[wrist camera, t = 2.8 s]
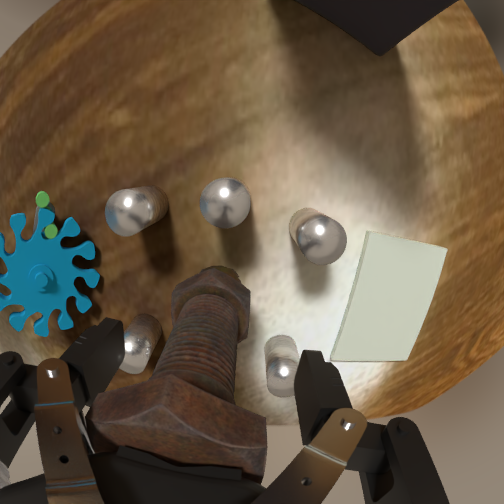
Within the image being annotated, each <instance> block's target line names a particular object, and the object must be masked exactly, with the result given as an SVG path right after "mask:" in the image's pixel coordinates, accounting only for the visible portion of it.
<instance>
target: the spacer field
mask: <svg viewBox="0 0 504 504" xmlns="http://www.w3.org/2000/svg"><path fill="white" fill-rule="evenodd" d="M200 209H201V212H202V214H203V216H204V218H205V219H206V220H207V221H208V222H209V223H210V224H212V225H214V226H216V227H219V228H231V227H235V226H237V225H238V224H240V223H241V222H242V221H243V220H244V219H245V218H246V217H247V215H248V213H249V210H250V192H249V189H248V187H247V185H246V184H245V183H244V182H243V181H241V180H240V179H237V178H233V177H228V178H220V179H217V180H214V181H212V182H211V183H209V184H208V185H207V186H206V187H205V189H204V190H203V192H202V194H201V198H200ZM167 210H168V198H167V196H166V194H165V192H164V191H163V190H162V189H160V188H159V187H156V186H145V187H138V188H131V189H125V190H120V191H117V192H115V193H114V194H113V195H112V196H111V197H110V198H109V200H108V202H107V204H106V208H105V216H106V220H107V223H108V225H109V227H110V228H111V229H112V230H113V231H114V232H115V233H117V234H118V235H121V236H131V235H134V234H136V233H137V232H139V231H141V230H143V229H145V228H146V227H148V226H150V225H152V224H154V223H155V222H157V221H159V220H161V219H162V218H163V217H164V216H165V214H166V213H167ZM289 231H290V234H291V236H292V238H293V239H294V241H295V242H296V244H297V245H298V247H299V248H300V250H301V251H302V253H303V254H304V256H305V257H306V258H307V259H308V260H309V261H311V262H312V263H314V264H318V265H327V264H331V263H333V262H335V261H336V260H337V259H339V258H340V257H341V255H342V254H343V252H344V250H345V248H346V243H347V237H346V233H345V230H344V228H343V227H342V226H341V225H340V224H339V223H338V222H337V221H335V220H333V219H332V218H330V217H328V216H326V215H324V214H323V213H321V212H319V211H317V210H315V209H312V208H303V209H300V210H299V211H297V212H296V213H295V214H294V215H293V216H292V218H291V220H290V223H289ZM161 333H162V328H161V325H160V323H159V322H158V321H157V320H156V319H155V318H154V317H153V316H151V315H148V314H139V315H137V316H136V317H135V318H134V319H133V321H132V322H131V323H130V325H129V326H128V328H127V329H126V330H125V332H124V341H125V357H124V360H123V362H122V364H121V365H120V367H119V368H120V369H122V370H123V371H125V372H128V373H131V374H138V373H140V372H142V371H143V370H144V368H145V366H146V364H147V362H148V360H149V358H150V356H151V354H152V352H153V350H154V348H155V346H156V344H157V342H158V340H159V338H160V336H161ZM264 351H265V363H266V375H267V387H268V390H269V391H270V393H272V394H273V395H275V396H278V397H290V396H293V395H295V393H294V378H295V374H296V371H297V368H298V365H299V361H300V358H299V354H298V350H297V346H296V343H295V341H294V340H293V339H292V338H291V337H289V336H286V335H277V336H274V337H272V338H270V339H269V340H268V341H267V342H266V344H265V347H264Z"/></svg>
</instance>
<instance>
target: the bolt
mask: <svg viewBox="0 0 504 504" xmlns="http://www.w3.org/2000/svg"><path fill="white" fill-rule="evenodd" d="M238 277H239V276H238V275H237V273H236V272H235V271H234V270H233V269H230V268H227V267H223V266H211V267H208V268H206V269H202V271H201V272H200V273H199V274H196V275H194V276H192V277H190V278H188V279H186V280H185V281H183V282H181V283H180V284H178V285H177V286H176V287H175V289H174V290H173V292H172V303H171V315H172V324H173V330H172V332H171V334H170V336H169V338H168V340H167V342H166V345H165V347H164V349H163V351H162V354H161V356H160V359H159V360H158V363H157V364H156V367H155V369H154V371H153V375H152V377H150V378H149V380H148V381H145V382H141V383H138V384H134V385H130V386H127V387H123V388H119V389H115V390H111V391H107V392H103V393H98V395H97V397H96V398H95V400H94V402H93V404H92V405H91V407H90V409H89V411H88V412H87V414H86V416H85V421H86V428H87V433H88V437H89V441H90V444H91V447H92V449H93V451H94V453H100V452H117V451H118V449H119V446H120V445H121V446H124V447H128V448H131V449H134V450H138V451H141V452H145V453H148V454H150V455H152V456H154V457H156V458H158V459H160V460H163V461H165V462H167V463H169V464H171V465H174V466H177V467H203V466H213V467H221V468H229V469H240V470H242V473H241V477H243V478H246V479H249V480H251V481H254V482H256V483H258V484H260V485H261V482H262V479H263V476H264V471H265V464H266V455H267V432H266V418H265V417H263V416H260V415H257V414H255V413H252V412H250V411H248V410H245V409H243V408H241V407H238V406H236V405H235V401H234V387H235V370H236V355H237V351H236V350H237V344H238V343H239V342H241V341H242V340H244V339H246V338H247V335H248V326H249V314H250V290H249V289H247V288H246V287H245V286H244V285H242V284H241V281H240V280H239V279H238Z"/></svg>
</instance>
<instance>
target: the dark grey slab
mask: <svg viewBox="0 0 504 504" xmlns="http://www.w3.org/2000/svg"><path fill="white" fill-rule="evenodd" d="M295 1H297V2H299V3H300V4H302V5H304V6H306V7H308V8H309V9H311V10H313V11H314V12H316V13H318V14H319V15H321V16H323V17H324V18H326V19H328V20H329V21H331V22H332V23H334V24H335V25H337V26H338V27H340V28H341V29H343V30H344V31H346V32H347V33H348V34H350V35H351V36H353V37H354V38H355V39H357V40H358V41H359V42H361V43H362V44H363V45H365V46H366V47H367V48H369V49H370V50H371V51H372V52H374V53H375V54H376V55H379V56H382V55H384V54H385V53H386V52H387V51H389V50H390V49H391V48H393V47H394V46H395V45H396V44H398V43H399V42H400V41H402V40H403V39H404V38H406V37H407V36H408V35H410V34H411V33H412V32H414V31H415V30H416V29H418V28H419V27H420V26H422V25H423V24H425V23H426V22H427V21H429V20H430V19H432V18H433V17H434V16H436V15H437V14H439V13H440V12H442V11H443V10H445V9H446V8H448V7H449V6H451V5H452V4H454V3H455V2H457V1H459V0H295Z"/></svg>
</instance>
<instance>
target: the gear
mask: <svg viewBox="0 0 504 504" xmlns="http://www.w3.org/2000/svg"><path fill="white" fill-rule="evenodd" d="M36 203H37V205H38V206H37V208H36V214H35V221H34V229H33V235H32V237H31V238H30V239H29V240H24V239H23V238H22V237H21V231H22V230H23V228H24V226H25V224H26V216H25V214H24V213H18V214H14V215H11V218H10V225H11V228H12V229H13V231H14V233H15V237H16V250H15V252H13V253H12V254H9V253H7V252H6V251H5V248H4V243H5V239H4V236H3V234H2V233H1V232H0V257H1V258H2V259H3V260H4V262H5V264H6V266H7V269H8V272H7V273H6V274H0V283H1V284H3V285H5V286H6V287H8V288H9V289H10V290H11V292H12V293H11V294H10V295H9V296H5V295H3V294H2V293H0V311H2V309H3V308H5V307H6V306H8V305H12V304H19V305H22V306H23V307H24V308H25V309H24V310H23V311H22V312H13V313H11V314H10V316H9V323H10V324H11V326H12V327H13V328H14V329H15V330H17V331H18V332H19V331H21V330H22V329H23V326H24V323H25V321H26V319H27V318H28V317H29V316H30V315H32V314H34V313H35V312H40V313H42V314H43V315H42V317H41V318H39V319H38V320H36V321H35V322H34V332H35V334H37V335H39V336H44V337H47V336H48V334H49V330H48V318H49V316H50V314H51V312H52V311H53V310H54V309H60V310H61V312H60V314H59V316H58V319H57V321H58V324H59V327H60V329H61V330H66V329H69V328H72V327H73V321H72V319H71V316H70V315H69V314H68V313H67V311H66V300H67V298H68V297H69V296H75V297H76V306H77V308H78V310H79V311H80V312H81V313H84V312H86V311H87V310H88V309H89V308H90V307H91V306H92V303H91V301H90V299H89V298H88V296H86V295H84V294H82V293H80V292H79V291H78V290H77V289H76V288H75V286H74V280H75V278H76V277H79V276H81V277H83V278H84V280H85V282H86V283H87V285H88V286H89V287H91V288H95V287H96V285H97V283H98V281H99V277H100V275H99V273H98V272H97V271H96V270H95V269H81V268H78V267H77V266H75V265H74V264H72V258H73V257H74V256H75V255H81V256H82V257H84V258H85V259H87V260H92V259H94V258H95V248H94V244H93V243H92V242H91V241H85V242H83V243H82V244H80V245H79V246H76V247H72V248H68V247H62V246H61V245H60V241H61V239H62V238H63V237H65V236H70V237H74V236H77V235H78V234H79V233H80V228H79V226H78V224H77V223H76V221H75V220H74V219H73V218H72V217H69V218H68V219H66V221H65V222H64V225H63V226H62V228H61V229H60V230H59V231H58V232H57V227H56V225H55V224H54V223H53V221H54V218H55V208H54V206H53V205H52V204H51V203H50V202H49V196H48V195H47V193H46V192H44V191H41V192H39V193H38V194H37V196H36Z"/></svg>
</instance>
